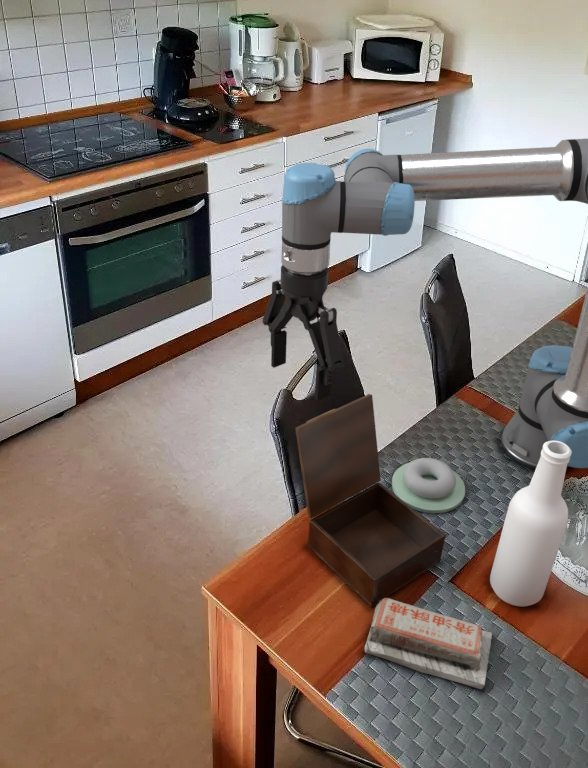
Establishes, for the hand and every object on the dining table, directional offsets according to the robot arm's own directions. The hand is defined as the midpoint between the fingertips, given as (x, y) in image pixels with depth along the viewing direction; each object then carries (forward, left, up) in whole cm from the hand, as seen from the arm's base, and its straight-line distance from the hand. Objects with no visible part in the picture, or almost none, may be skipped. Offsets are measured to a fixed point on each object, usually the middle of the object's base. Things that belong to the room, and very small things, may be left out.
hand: (299, 380), depth 128 cm
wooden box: (-20, +9, -24) cm, 33 cm away
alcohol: (-44, +4, -24) cm, 50 cm away
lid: (-11, +5, -9) cm, 15 cm away
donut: (-23, -12, -24) cm, 35 cm away
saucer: (-23, -12, -24) cm, 35 cm away
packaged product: (-35, +22, -24) cm, 48 cm away
